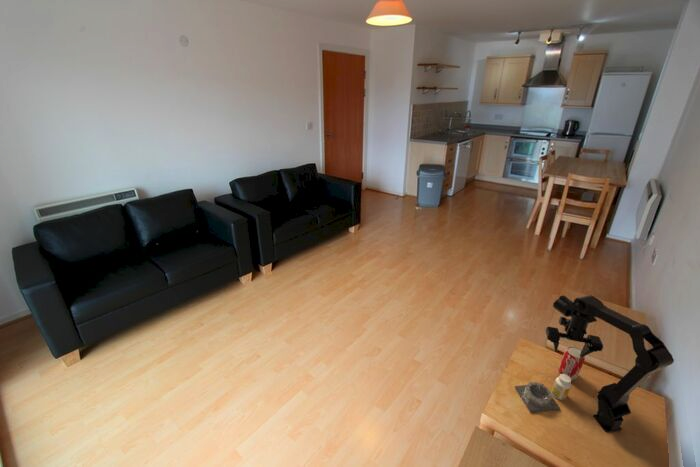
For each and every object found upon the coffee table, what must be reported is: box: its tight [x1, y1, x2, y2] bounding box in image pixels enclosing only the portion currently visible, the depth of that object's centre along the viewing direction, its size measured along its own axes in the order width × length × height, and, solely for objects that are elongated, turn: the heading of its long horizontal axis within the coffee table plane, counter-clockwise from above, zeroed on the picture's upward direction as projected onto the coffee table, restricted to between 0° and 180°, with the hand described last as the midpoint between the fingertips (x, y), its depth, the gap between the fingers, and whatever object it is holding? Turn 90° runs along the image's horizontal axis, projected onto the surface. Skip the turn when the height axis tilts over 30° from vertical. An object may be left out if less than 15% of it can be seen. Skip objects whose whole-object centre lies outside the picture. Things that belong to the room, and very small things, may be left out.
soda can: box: [557, 346, 586, 381], centre depth 139 cm, size 7×7×13 cm
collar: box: [514, 381, 561, 413], centre depth 130 cm, size 11×12×4 cm
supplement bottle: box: [550, 373, 572, 401], centre depth 131 cm, size 5×5×10 cm
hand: (567, 353), depth 135 cm, fingers open, 9 cm apart
